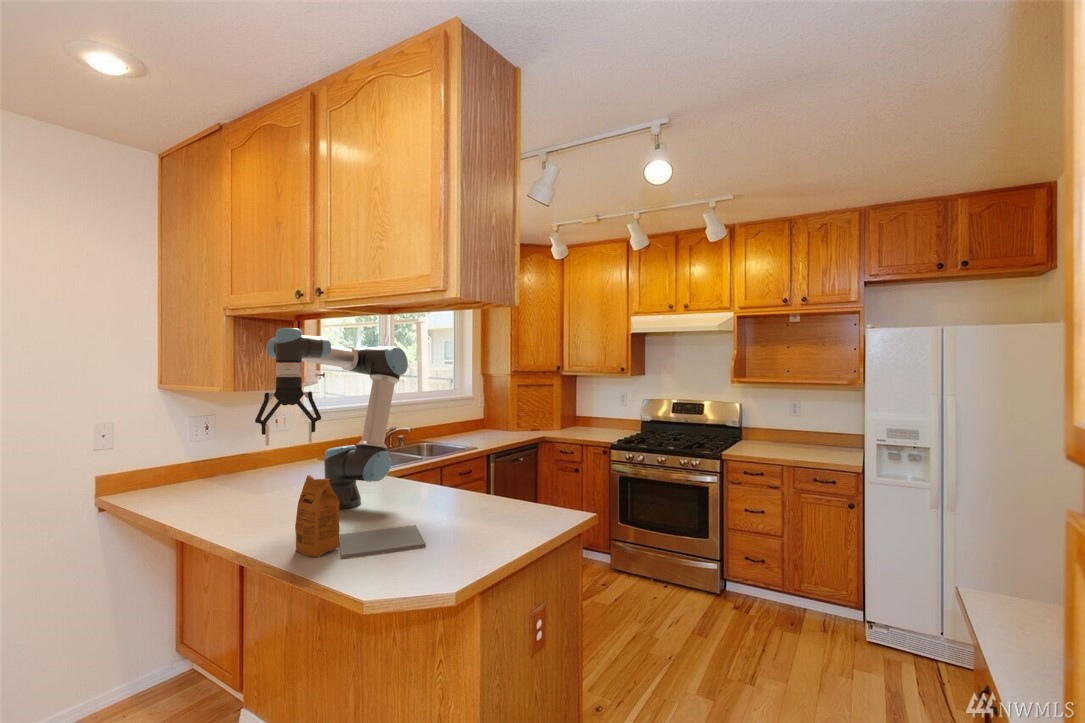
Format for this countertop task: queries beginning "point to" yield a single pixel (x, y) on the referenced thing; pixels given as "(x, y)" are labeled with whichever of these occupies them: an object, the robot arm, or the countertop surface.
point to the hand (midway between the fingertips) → (289, 443)
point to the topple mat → (380, 541)
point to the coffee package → (317, 518)
